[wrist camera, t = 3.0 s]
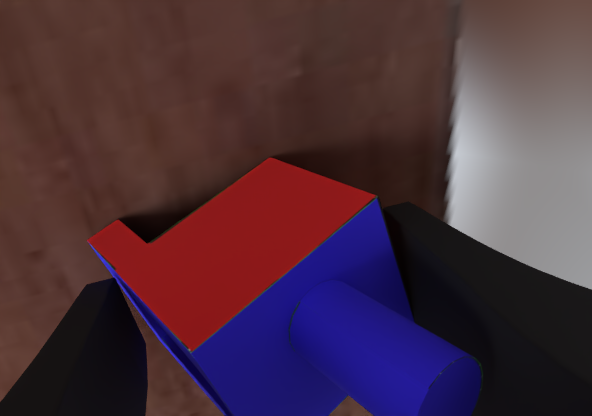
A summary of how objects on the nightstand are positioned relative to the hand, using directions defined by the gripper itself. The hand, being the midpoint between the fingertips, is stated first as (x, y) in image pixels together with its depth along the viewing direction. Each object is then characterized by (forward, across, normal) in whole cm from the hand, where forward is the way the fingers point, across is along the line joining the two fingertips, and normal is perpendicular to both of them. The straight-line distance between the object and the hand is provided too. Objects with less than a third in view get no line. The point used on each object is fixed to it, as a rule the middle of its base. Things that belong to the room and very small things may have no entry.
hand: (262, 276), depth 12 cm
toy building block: (+2, 0, 0) cm, 2 cm away
